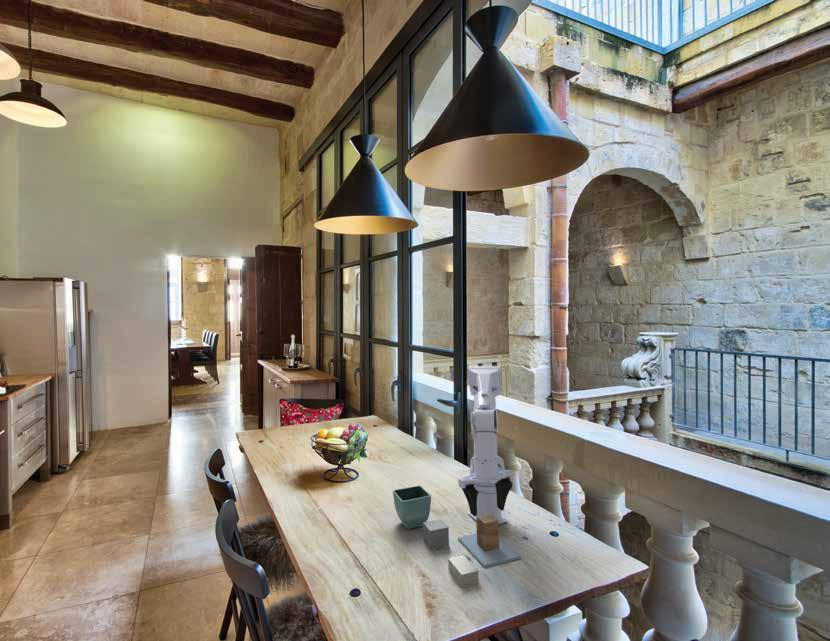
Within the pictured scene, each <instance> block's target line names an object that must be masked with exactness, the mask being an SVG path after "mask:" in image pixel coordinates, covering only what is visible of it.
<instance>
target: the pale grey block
mask: <svg viewBox="0 0 830 641" xmlns="http://www.w3.org/2000/svg"><path fill="white" fill-rule="evenodd" d="M447 562H448V563H447V564H448V571H450V572H449V573H450V574H451V575H452V577H453V578H454V579H455V581H457V583H458V584H459V586H460V587H461V588H466V587H469V586H474V585H478V584H479V570H478V568H476V567H475V565H474V564H473V563H472V562H471V560H469V559H468V557H467V556H465V554H462V555H457V556H453V557H449V558H448V559H447Z"/></svg>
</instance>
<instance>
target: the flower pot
mask: <svg viewBox="0 0 830 641" xmlns="http://www.w3.org/2000/svg"><path fill="white" fill-rule="evenodd" d="M392 497H393V504H394V508H395V509H394V510H395V511H396V514H397V516H398V518H399V520H400V521H401V523H402V525H404V527H405V528H406V530H407V529H408V530H411V529H415V528H421V527H423V522H428V519H429V517H430V513H431V504H432V495H431V493H430V492H428V491H427V490H426V489H425V488H424V487H423V486H422V485H414V486H410V487H404V488H398V489H393V490H392Z"/></svg>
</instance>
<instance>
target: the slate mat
mask: <svg viewBox="0 0 830 641" xmlns="http://www.w3.org/2000/svg"><path fill="white" fill-rule="evenodd" d="M457 540H458V541H459V542H460V543H461V544H462V545H463V547H464V546H465V547H466V548H467V549H468V550H469V551H470V552H471V553H472V554H473V555H472V554H471V553H470V552H469V551H468V550H467V549H466V548H465V547H464V548H465V549H466V550H467V551H468V552H469V553H470V554H471V555H472V556H473V557H474V558H475V560H476V561H479V562H480V563H479V562H478V563H479V564H480V565H481V566H482V567H483V568H488V567H493V566H497V565H500V563H501V564H504V562H505V563H508V561H509V562H512V561H511V560H513V561H516V560H515V559H517V560H521V559H522V555H521V554H520V553H519V552H517V551H516V550H515V549H514V548H513V547H512V546H510V545H509V543H507V542H506V541H505V540H504V539H503V538H502V537H500V536H499V548H498V549H494V550H490V551H486V552H485V551H484V550H483V549H482V548H481V547H480V546H479V545H478V544H477V532H476V533H473V534H469V535H463V536H458V538H457ZM520 558H521V559H520Z"/></svg>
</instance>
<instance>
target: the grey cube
mask: <svg viewBox="0 0 830 641" xmlns="http://www.w3.org/2000/svg"><path fill="white" fill-rule="evenodd" d="M422 527H423V528H422V531H423V535H422V536H423V542H424V544H425V545H426V546H427V547H428V549H429V550H430V551H434V550H433V549H435V550H439V549H438V548H440V549H443V548H442V547H444V548H447V547H446V546H448V547H450V534H449V533H450V532H449V531H450V530H449V529H450V527H449V526H448V525H447V524H446V523H445V522H444V520H443V519H441V518H438V519H433V520H427V521H426V522H423V526H422Z"/></svg>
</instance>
